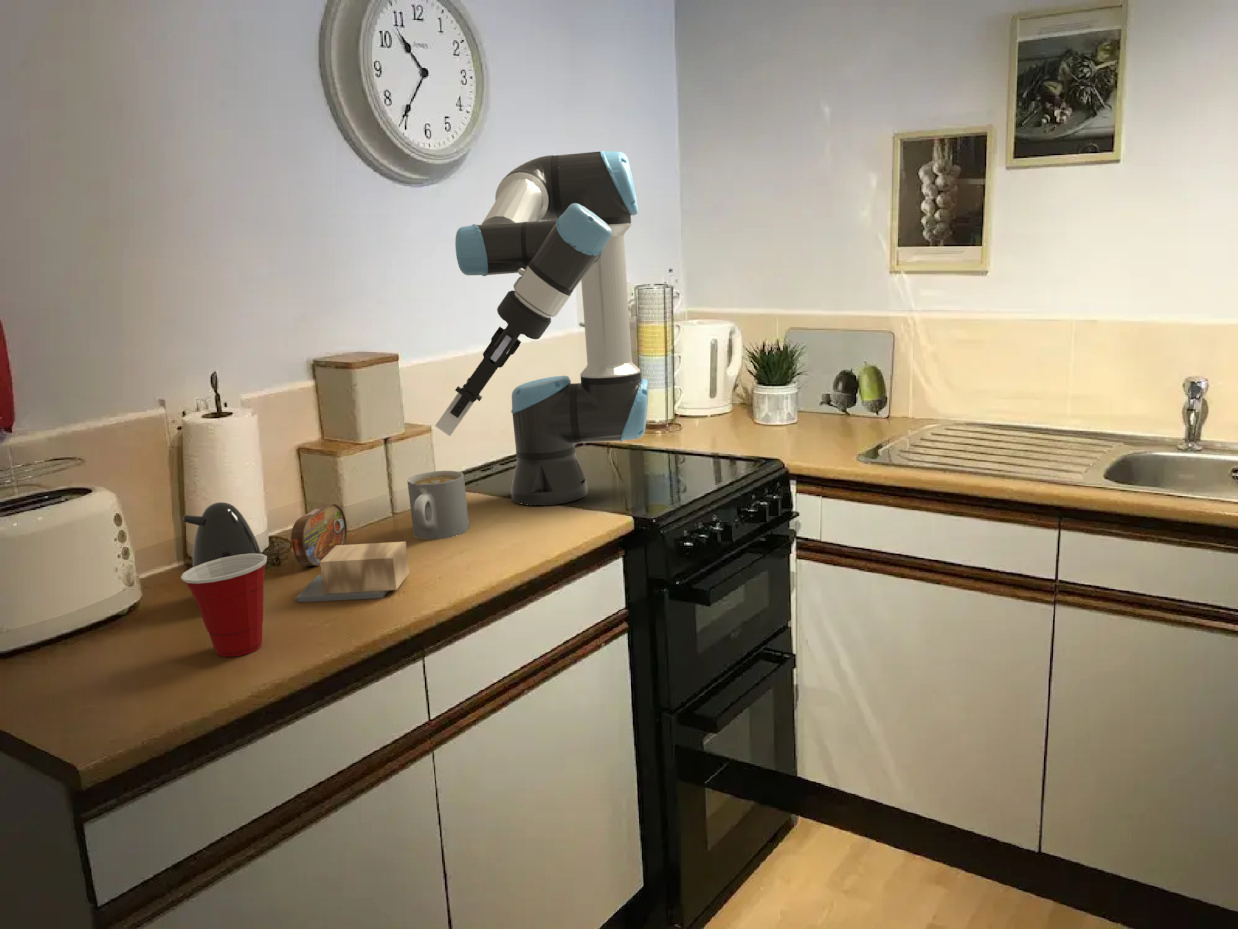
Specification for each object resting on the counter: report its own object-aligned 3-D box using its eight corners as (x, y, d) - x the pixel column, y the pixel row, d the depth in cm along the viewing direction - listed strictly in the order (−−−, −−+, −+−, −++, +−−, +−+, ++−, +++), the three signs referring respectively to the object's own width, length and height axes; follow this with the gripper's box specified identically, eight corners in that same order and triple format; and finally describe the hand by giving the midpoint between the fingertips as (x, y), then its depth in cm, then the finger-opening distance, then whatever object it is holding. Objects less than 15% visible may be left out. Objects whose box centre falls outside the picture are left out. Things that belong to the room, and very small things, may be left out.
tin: (309, 572, 168) (302, 523, 166) (292, 572, 168) (284, 523, 166) (351, 544, 182) (344, 498, 180) (334, 544, 182) (328, 498, 181)
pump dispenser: (187, 600, 158) (170, 505, 155) (253, 582, 164) (239, 490, 161) (210, 616, 150) (193, 516, 147) (278, 597, 157) (264, 500, 153)
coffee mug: (435, 521, 192) (429, 469, 190) (479, 524, 188) (474, 471, 186) (390, 543, 181) (383, 487, 178) (436, 547, 176) (430, 490, 174)
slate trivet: (399, 575, 163) (398, 570, 163) (382, 598, 153) (382, 592, 153) (318, 579, 164) (318, 574, 163) (297, 602, 154) (296, 597, 154)
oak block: (405, 541, 160) (336, 545, 161) (392, 558, 153) (319, 561, 153) (409, 572, 162) (340, 575, 162) (396, 589, 154) (324, 593, 154)
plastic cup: (230, 630, 144) (217, 549, 142) (296, 635, 141) (284, 551, 138) (176, 662, 134) (160, 575, 132) (245, 668, 131) (231, 579, 128)
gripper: (516, 281, 155) (431, 404, 161) (505, 295, 142) (413, 427, 148) (557, 311, 156) (470, 432, 162) (549, 327, 143) (456, 456, 150)
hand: (443, 429), depth 155 cm, fingers closed
